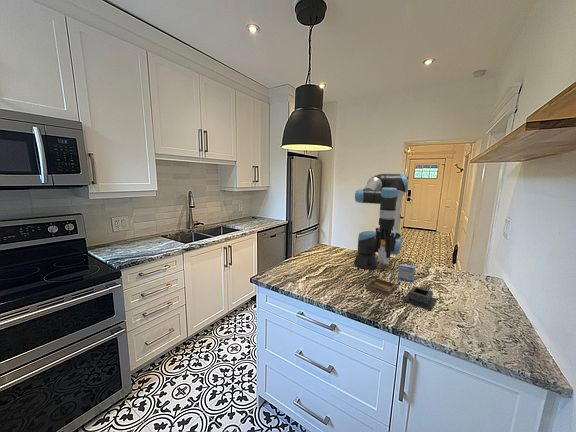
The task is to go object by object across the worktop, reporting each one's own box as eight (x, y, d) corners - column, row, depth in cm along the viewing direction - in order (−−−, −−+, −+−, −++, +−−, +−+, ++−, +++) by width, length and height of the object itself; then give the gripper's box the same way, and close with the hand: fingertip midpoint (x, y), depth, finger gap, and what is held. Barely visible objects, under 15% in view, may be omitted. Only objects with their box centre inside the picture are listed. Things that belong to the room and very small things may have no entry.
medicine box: (398, 279, 143) (399, 265, 142) (398, 276, 147) (399, 263, 146) (413, 282, 140) (414, 268, 138) (413, 279, 144) (414, 265, 142)
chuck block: (410, 292, 127) (411, 283, 126) (436, 301, 119) (437, 291, 118) (402, 301, 118) (403, 291, 117) (430, 310, 110) (432, 300, 110)
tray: (374, 281, 140) (374, 277, 139) (396, 288, 132) (396, 284, 131) (365, 289, 131) (365, 284, 130) (388, 296, 123) (388, 291, 122)
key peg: (377, 266, 130) (379, 239, 128) (383, 265, 131) (385, 238, 129) (382, 269, 126) (384, 241, 124) (388, 268, 128) (390, 240, 125)
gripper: (370, 215, 131) (367, 257, 135) (392, 221, 116) (388, 268, 119) (381, 215, 134) (378, 256, 138) (405, 220, 118) (401, 266, 122)
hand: (383, 261), depth 128 cm, fingers closed on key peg, 4 cm apart
